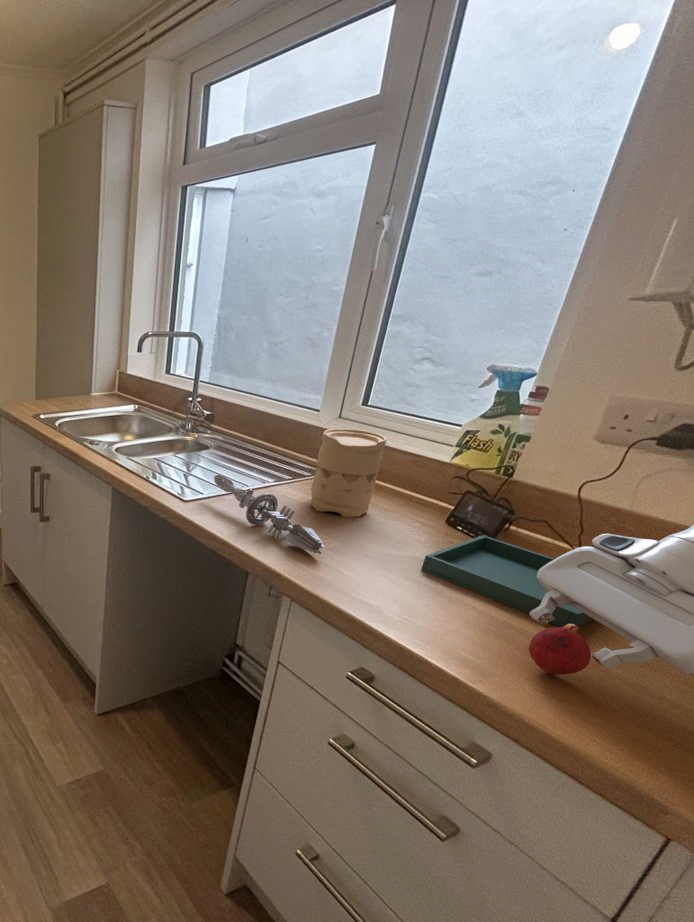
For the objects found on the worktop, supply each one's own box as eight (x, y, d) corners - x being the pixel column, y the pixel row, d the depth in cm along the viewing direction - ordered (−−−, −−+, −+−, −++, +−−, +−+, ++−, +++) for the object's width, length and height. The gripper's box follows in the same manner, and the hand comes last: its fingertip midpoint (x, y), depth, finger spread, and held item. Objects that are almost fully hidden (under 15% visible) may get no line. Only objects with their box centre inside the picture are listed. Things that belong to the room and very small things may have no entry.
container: (372, 520, 120) (392, 444, 113) (310, 513, 124) (327, 439, 118) (361, 501, 131) (380, 431, 124) (305, 495, 135) (320, 426, 128)
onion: (564, 693, 69) (588, 642, 66) (511, 666, 74) (532, 618, 71) (587, 680, 71) (612, 631, 68) (534, 655, 76) (555, 608, 73)
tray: (626, 600, 89) (634, 584, 88) (571, 631, 81) (578, 614, 80) (478, 548, 107) (483, 534, 106) (420, 569, 99) (425, 555, 98)
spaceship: (234, 466, 132) (211, 458, 129) (345, 537, 102) (319, 528, 99) (217, 494, 135) (195, 486, 131) (322, 570, 105) (296, 563, 102)
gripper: (794, 645, 57) (657, 710, 61) (610, 556, 76) (515, 611, 80) (773, 609, 56) (634, 678, 60) (590, 528, 75) (495, 585, 79)
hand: (565, 639), depth 70 cm, fingers open, 8 cm apart
